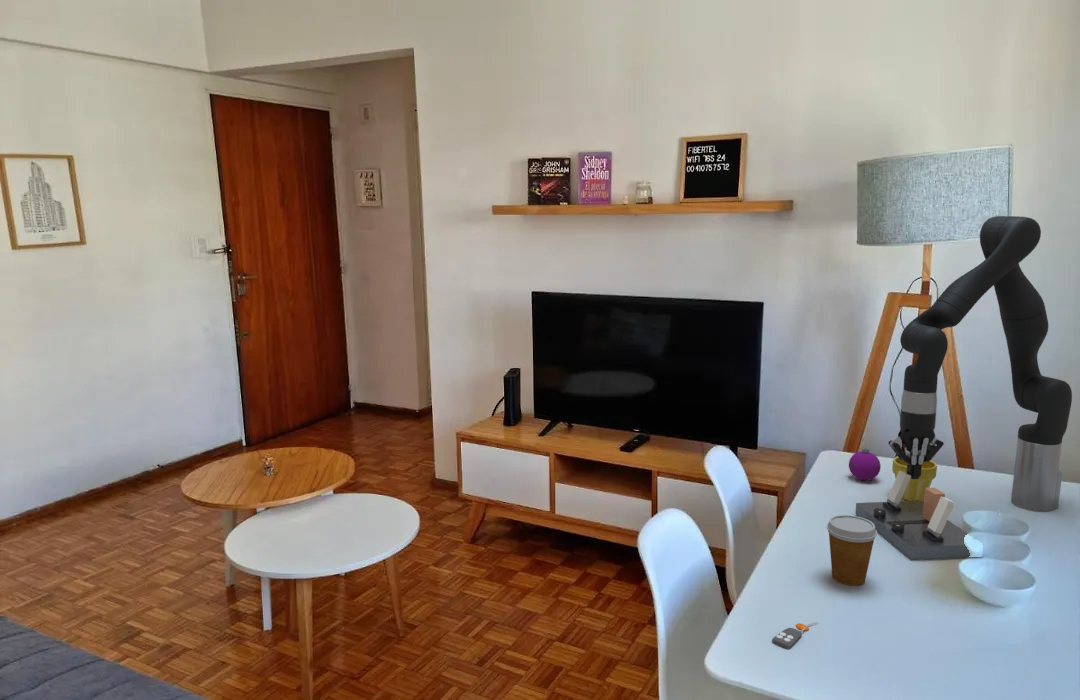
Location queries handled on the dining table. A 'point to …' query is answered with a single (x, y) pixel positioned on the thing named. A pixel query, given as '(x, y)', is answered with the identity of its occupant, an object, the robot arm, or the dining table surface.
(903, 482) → the lever
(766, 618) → the dining table surface
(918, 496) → the plant pot
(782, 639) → the key chain
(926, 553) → the panel
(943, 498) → the lever
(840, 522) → the disposable coffee cup
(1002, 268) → the robot arm
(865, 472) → the christmas ornament
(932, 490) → the slider knob
